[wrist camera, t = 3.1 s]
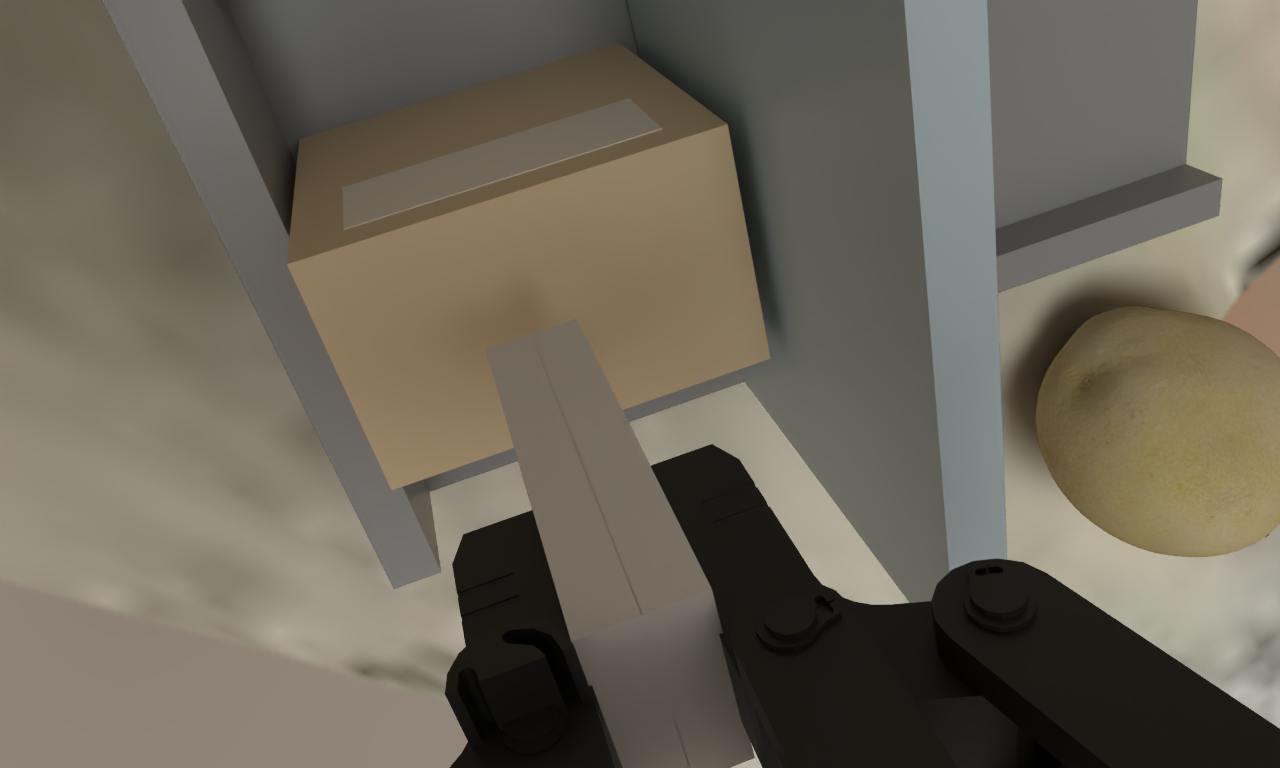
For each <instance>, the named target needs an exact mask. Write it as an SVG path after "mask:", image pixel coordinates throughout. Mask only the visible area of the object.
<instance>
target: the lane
mask: <svg viewBox="0 0 1280 768" xmlns="http://www.w3.org/2000/svg"><path fill="white" fill-rule="evenodd" d="M102 1H103V3H104V5H105V7H106V9H107V11H108V13H109V15H110V17H111V19H112V21H113V23H114V25H115V27H116V29H117V31H118V33H119V35H120V37H121V39H122V41H123V43H124V45H125V47H126V49H127V52H128V54H129V56H130V58H131V60H132V62H133V64H134V66H135V68H136V70H137V72H138V74H139V76H140V78H141V80H142V82H143V84H144V86H145V88H146V90H147V92H148V94H149V96H150V98H151V100H152V102H153V104H154V106H155V108H156V110H157V112H158V114H159V116H160V118H161V120H162V122H163V124H164V126H165V128H166V130H167V132H168V134H169V136H170V138H171V140H172V142H173V144H174V146H175V148H176V150H177V152H178V154H179V156H180V158H181V160H182V162H183V165H184V167H185V169H186V171H187V173H188V175H189V177H190V179H191V181H192V183H193V185H194V187H195V189H196V191H197V193H198V195H199V197H200V199H201V201H202V203H203V205H204V207H205V209H206V211H207V213H208V215H209V217H210V219H211V221H212V223H213V225H214V227H215V229H216V231H217V233H218V235H219V237H220V239H221V241H222V243H223V245H224V247H225V249H226V251H227V253H228V255H229V257H230V259H231V261H232V263H233V265H234V267H235V269H236V271H237V273H238V275H239V278H240V280H241V282H242V284H243V286H244V288H245V290H246V292H247V294H248V296H249V298H250V300H251V302H252V304H253V306H254V308H255V310H256V312H257V314H258V316H259V318H260V320H261V322H262V324H263V326H264V328H265V330H266V332H267V334H268V336H269V338H270V340H271V342H272V344H273V346H274V348H275V350H276V352H277V354H278V356H279V358H280V360H281V362H282V364H283V366H284V368H285V370H286V372H287V374H288V376H289V378H290V380H291V382H292V384H293V386H294V388H295V391H296V393H297V395H298V397H299V399H300V401H301V403H302V405H303V407H304V409H305V411H306V413H307V415H308V417H309V419H310V421H311V423H312V425H313V427H314V429H315V431H316V433H317V435H318V437H319V439H320V441H321V443H322V445H323V447H324V449H325V451H326V453H327V455H328V457H329V459H330V461H331V463H332V465H333V467H334V469H335V471H336V473H337V475H338V477H339V479H340V481H341V483H342V485H343V487H344V489H345V491H346V493H347V495H348V497H349V499H350V501H351V504H352V506H353V508H354V510H355V512H356V514H357V516H358V518H359V520H360V522H361V524H362V526H363V528H364V530H365V532H366V534H367V536H368V538H369V540H370V542H371V544H372V546H373V548H374V550H375V552H376V554H377V556H378V558H379V560H380V562H381V564H382V566H383V568H384V570H385V572H386V574H387V576H388V578H389V580H390V582H391V584H392V586H393V588H394V589H396V588H398V587H401V586H404V585H407V584H409V583H412V582H415V581H418V580H421V579H423V578H426V577H429V576H432V575H434V574H437V573H440V572H441V567H440V561H439V554H438V547H437V540H436V534H435V527H434V520H433V513H432V507H431V500H430V493H429V492H430V491H433V490H436V489H439V488H441V487H444V486H447V485H450V484H453V483H456V482H459V481H461V480H464V479H467V478H470V477H473V476H476V475H479V474H481V473H484V472H487V471H490V470H493V469H496V468H499V467H501V466H504V465H507V464H510V463H513V462H516V461H518V459H517V455H516V452H515V449H514V448H512V449H509V450H507V451H504V452H501V453H498V454H495V455H492V456H489V457H487V458H484V459H481V460H478V461H475V462H472V463H469V464H466V465H464V466H461V467H458V468H455V469H452V470H449V471H446V472H443V473H441V474H438V475H435V476H432V477H429V478H426V479H423V480H420V481H418V482H415V483H412V484H409V485H406V486H403V487H400V488H397V489H395V490H391V488H390V486H389V484H388V482H387V480H386V477H385V475H384V473H383V471H382V469H381V467H380V464H379V462H378V460H377V458H376V456H375V454H374V451H373V449H372V447H371V445H370V443H369V441H368V439H367V436H366V434H365V432H364V430H363V428H362V426H361V423H360V421H359V419H358V417H357V415H356V413H355V410H354V408H353V406H352V404H351V402H350V400H349V398H348V395H347V393H346V391H345V389H344V387H343V385H342V382H341V380H340V378H339V376H338V374H337V372H336V369H335V367H334V365H333V363H332V361H331V359H330V356H329V354H328V352H327V350H326V348H325V346H324V344H323V341H322V339H321V337H320V335H319V333H318V331H317V328H316V326H315V324H314V322H313V320H312V318H311V315H310V313H309V311H308V309H307V307H306V305H305V303H304V300H303V298H302V296H301V294H300V292H299V290H298V287H297V285H296V283H295V281H294V279H293V277H292V274H291V272H290V270H289V268H288V266H287V258H288V248H289V238H290V228H291V218H292V208H293V198H294V188H295V178H296V168H297V158H298V148H299V139H301V138H304V137H308V136H311V135H314V134H317V133H321V132H324V131H327V130H331V129H334V128H337V127H340V126H344V125H347V124H350V123H353V122H357V121H360V120H363V119H367V118H370V117H373V116H376V115H380V114H383V113H386V112H390V111H393V110H396V109H399V108H403V107H406V106H409V105H413V104H416V103H419V102H422V101H426V100H429V99H432V98H436V97H439V96H442V95H445V94H449V93H452V92H455V91H459V90H462V89H465V88H468V87H472V86H475V85H478V84H482V83H485V82H488V81H491V80H495V79H498V78H501V77H504V76H508V75H511V74H514V73H518V72H521V71H524V70H527V69H531V68H534V67H537V66H541V65H544V64H547V63H550V62H554V61H557V60H560V59H564V58H567V57H570V56H573V55H577V54H580V53H583V52H587V51H590V50H593V49H596V48H600V47H603V46H606V45H610V44H613V43H616V42H619V43H620V44H622V45H623V46H624V47H626V48H627V49H628V50H630V51H631V52H632V53H634V54H635V55H636V56H638V57H639V58H640V56H639V52H638V47H637V43H636V39H635V34H634V30H633V25H632V21H631V16H630V12H629V7H628V3H627V0H102ZM1197 4H1198V0H987V14H988V41H989V69H990V97H991V124H992V152H993V179H994V207H995V234H996V262H997V289H998V293H999V292H1002V291H1005V290H1008V289H1011V288H1013V287H1016V286H1019V285H1022V284H1025V283H1028V282H1031V281H1033V280H1036V279H1039V278H1042V277H1045V276H1048V275H1051V274H1053V273H1056V272H1059V271H1062V270H1065V269H1068V268H1071V267H1073V266H1076V265H1079V264H1082V263H1085V262H1088V261H1091V260H1093V259H1096V258H1099V257H1102V256H1105V255H1108V254H1111V253H1113V252H1116V251H1119V250H1122V249H1125V248H1128V247H1131V246H1133V245H1136V244H1139V243H1142V242H1145V241H1148V240H1151V239H1153V238H1156V237H1159V236H1162V235H1165V234H1168V233H1171V232H1174V231H1176V230H1179V229H1182V228H1185V227H1188V226H1191V225H1194V224H1196V223H1199V222H1202V221H1205V220H1208V219H1211V218H1214V217H1216V216H1219V210H1220V199H1221V189H1222V178H1219V177H1217V176H1214V175H1212V174H1209V173H1207V172H1204V171H1202V170H1199V169H1196V168H1194V167H1191V166H1189V165H1186V154H1187V140H1188V127H1189V113H1190V99H1191V86H1192V72H1193V58H1194V45H1195V31H1196V17H1197ZM742 382H745V381H744V380H743V378H742V377H741V376H740V374H739V373H738V372H737V370H736V371H734V372H731V373H728V374H725V375H722V376H719V377H716V378H713V379H711V380H708V381H705V382H702V383H699V384H696V385H693V386H691V387H688V388H685V389H682V390H679V391H676V392H673V393H670V394H668V395H665V396H662V397H659V398H656V399H653V400H650V401H647V402H645V403H642V404H639V405H636V406H633V407H630V408H627V409H624V410H623V412H624V414H625V416H626V418H627V420H628V422H630V421H633V420H636V419H639V418H642V417H644V416H647V415H650V414H653V413H656V412H659V411H662V410H664V409H667V408H670V407H673V406H676V405H679V404H682V403H684V402H687V401H690V400H693V399H696V398H699V397H702V396H704V395H707V394H710V393H713V392H716V391H719V390H722V389H725V388H727V387H730V386H733V385H736V384H739V383H742Z"/></svg>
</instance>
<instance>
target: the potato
mask: <svg viewBox="0 0 1280 768" xmlns="http://www.w3.org/2000/svg"><path fill="white" fill-rule="evenodd" d="M1036 430H1037V436H1038V441H1039V445H1040V449H1041V452H1042V455H1043V457H1044V460H1045V462H1046V464H1047V467H1048V469H1049V471H1050V473H1051V475H1052V477H1053V479H1054V480H1055V482H1056V484H1057V485H1058V487H1059V488H1060V490H1061V491H1062V492H1063V494H1064V495H1065V496H1066V497H1067V499H1068V500H1069V501H1070V502H1071V503H1072V504H1073V506H1074V507H1075V508H1076V509H1077V510H1078V511H1079V512H1080V513H1081V514H1083V515H1084V516H1085V517H1086V518H1087V519H1089V520H1090V521H1091V522H1093V523H1094V524H1095V525H1097V526H1098V527H1099V528H1101V529H1102V530H1104V531H1105V532H1107V533H1109V534H1110V535H1112V536H1114V537H1116V538H1118V539H1120V540H1121V541H1123V542H1126V543H1128V544H1130V545H1133V546H1135V547H1138V548H1141V549H1144V550H1147V551H1151V552H1154V553H1159V554H1165V555H1172V556H1183V557H1208V556H1217V555H1223V554H1228V553H1231V552H1235V551H1238V550H1240V549H1243V548H1245V547H1247V546H1250V545H1252V544H1254V543H1256V542H1258V541H1259V540H1261V539H1263V538H1264V537H1265V536H1266V537H1267V536H1268V535H1269V533H1270V532H1271V531H1272V530H1274V529H1275V528H1276V527H1277V526H1278V525H1279V523H1280V358H1279V357H1278V356H1277V355H1276V354H1275V353H1274V352H1273V351H1272V350H1271V349H1270V348H1268V347H1267V346H1266V345H1265V344H1263V343H1262V342H1261V341H1259V340H1258V339H1257V338H1255V337H1254V336H1252V335H1251V334H1249V333H1247V332H1246V331H1244V330H1242V329H1240V328H1238V327H1236V326H1234V325H1232V324H1229V323H1227V322H1224V321H1221V320H1218V319H1214V318H1211V317H1207V316H1202V315H1197V314H1192V313H1186V312H1180V311H1172V310H1166V309H1154V308H1149V307H1142V306H1127V307H1121V308H1117V309H1113V310H1109V311H1106V312H1103V313H1101V314H1098V315H1096V316H1093V317H1091V318H1090V319H1088V320H1086V321H1085V322H1084V323H1083V324H1082V325H1081V326H1080V327H1079V328H1078V329H1077V330H1076V332H1075V333H1074V334H1073V335H1072V336H1071V338H1070V339H1069V340H1068V341H1067V343H1066V344H1065V345H1064V346H1063V348H1062V349H1061V350H1060V352H1059V353H1058V354H1057V356H1056V357H1055V358H1054V360H1053V361H1052V363H1051V365H1050V366H1049V368H1048V370H1047V372H1046V374H1045V376H1044V379H1043V382H1042V384H1041V387H1040V390H1039V395H1038V401H1037V408H1036Z"/></svg>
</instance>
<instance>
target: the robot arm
mask: <svg viewBox="0 0 1280 768" xmlns="http://www.w3.org/2000/svg"><path fill="white" fill-rule="evenodd" d="M485 350H486V354H487V357H488V360H489V364H490V367H491V371H492V374H493V377H494V381H495V384H496V388H497V391H498V394H499V398H500V401H501V404H502V408H503V411H504V415H505V418H506V421H507V425H508V428H509V432H510V435H511V438H512V442H513V445H514V449H515V452H516V455H517V459H518V462H519V466H520V469H521V472H522V476H523V479H524V483H525V486H526V489H527V493H528V496H529V500H530V503H531V506H532V510H531V511H529V512H526V513H523V514H520V515H517V516H514V517H512V518H509V519H506V520H503V521H500V522H497V523H495V524H492V525H489V526H486V527H483V528H480V529H478V530H475V531H472V532H469V533H466V534H463V537H462V540H461V543H460V545H459V548H458V551H457V553H456V556H455V559H454V561H453V564H452V565H453V571H454V577H455V583H456V589H457V594H458V597H459V598H458V602H459V608H460V614H461V617H462V626H463V632H464V638H465V644H466V647H465V648H464V649H463V650H462V651H461V652H460V653H459V654H458V656H457V658H456V659H455V661H454V663H453V665H452V666H451V668H450V670H449V672H448V673H447V682H446V690H445V695H446V697H447V699H448V701H449V703H450V705H451V707H452V709H453V711H454V713H455V715H456V717H457V720H458V722H459V723H460V726H461V727H462V730H463V732H464V734H465V736H466V738H467V740H468V743H467V745H466V747H465V748H464V750H463V752H462V754H461V755H460V756H459V757H458V758H457V760H456V761H455V762H454V763H453V764H452V765H451V767H450V768H730V767H732V766H735V765H738V764H740V763H743V762H745V761H748V760H750V759H753V758H755V757H754V753H753V749H752V746H753V748H754V750H755V752H756V754H757V756H758V759H759V761H760V763H761V765H762V767H763V768H1280V729H1279V728H1278V727H1276V726H1275V725H1273V724H1272V723H1270V722H1269V721H1267V720H1266V719H1264V718H1263V717H1261V716H1260V715H1258V714H1257V713H1255V712H1254V711H1252V710H1251V709H1249V708H1248V707H1246V706H1245V705H1243V704H1242V703H1240V702H1239V701H1237V700H1236V699H1234V698H1233V697H1231V696H1230V695H1228V694H1227V693H1225V692H1224V691H1222V690H1221V689H1219V688H1218V687H1216V686H1215V685H1213V684H1212V683H1210V682H1209V681H1207V680H1206V679H1204V678H1203V677H1201V676H1200V675H1198V674H1197V673H1195V672H1194V671H1192V670H1191V669H1189V668H1188V667H1186V666H1185V665H1183V664H1182V663H1180V662H1179V661H1177V660H1176V659H1174V658H1173V657H1171V656H1170V655H1168V654H1167V653H1165V652H1164V651H1162V650H1161V649H1159V648H1158V647H1156V646H1155V645H1153V644H1152V643H1150V642H1149V641H1147V640H1146V639H1144V638H1143V637H1141V636H1140V635H1138V634H1137V633H1135V632H1134V631H1132V630H1131V629H1129V628H1128V627H1126V626H1125V625H1123V624H1122V623H1120V622H1119V621H1117V620H1116V619H1114V618H1113V617H1111V616H1110V615H1108V614H1107V613H1105V612H1104V611H1102V610H1101V609H1099V608H1098V607H1096V606H1095V605H1093V604H1092V603H1090V602H1089V601H1087V600H1086V599H1084V598H1083V597H1081V596H1080V595H1079V594H1077V593H1076V592H1074V591H1073V590H1071V589H1070V588H1068V587H1067V586H1065V585H1064V584H1062V583H1061V582H1059V581H1058V580H1056V579H1055V578H1053V577H1052V576H1050V575H1049V574H1047V573H1045V572H1043V571H1041V570H1039V569H1037V568H1034V567H1032V566H1030V565H1028V564H1026V563H1024V562H1018V561H1011V560H1005V559H999V558H996V559H987V560H977V561H971V562H969V563H967V564H964V565H962V566H959V567H957V568H955V569H952V570H951V571H950V572H949V573H948V574H947V575H946V576H945V577H944V578H943V579H941V580H940V581H939V582H938V583H937V585H936V588H935V591H934V594H933V597H932V600H931V601H925V602H915V603H904V604H894V605H870V604H864V603H859V602H853V601H851V600H848V599H845V598H843V597H842V596H841V595H839V594H838V593H837V592H836V591H835V590H833V589H831V588H828V587H826V586H823V585H822V584H821V583H820V582H819V581H818V579H817V578H816V577H815V576H814V575H813V573H812V572H811V570H810V569H809V567H808V565H807V564H806V562H805V561H804V559H803V558H802V556H801V555H800V553H799V551H798V550H797V548H796V547H795V545H794V544H793V542H792V541H791V539H790V538H789V536H788V534H787V533H786V531H785V530H784V528H783V527H782V525H781V524H780V522H779V520H778V519H777V517H776V516H775V514H774V513H773V511H772V510H771V508H770V507H768V505H767V502H766V500H765V499H764V497H763V496H762V494H761V493H760V491H759V489H758V488H756V487H755V484H754V482H753V480H752V479H751V477H750V475H749V474H748V472H747V471H746V469H745V468H744V466H743V465H742V463H741V462H740V460H739V459H737V458H736V457H734V456H732V455H730V454H728V453H727V452H725V451H723V450H721V449H720V448H718V447H716V446H714V445H712V444H711V445H708V446H705V447H702V448H700V449H697V450H694V451H691V452H688V453H685V454H683V455H680V456H677V457H674V458H671V459H668V460H666V461H663V462H660V463H657V464H654V465H651V466H650V464H649V462H648V460H647V458H646V456H645V454H644V452H643V450H642V448H641V446H640V444H639V442H638V440H637V438H636V436H635V434H634V432H633V430H632V428H631V426H630V424H629V422H628V420H627V418H626V416H625V414H624V412H623V410H622V408H621V406H620V404H619V402H618V400H617V398H616V396H615V394H614V392H613V390H612V388H611V386H610V384H609V382H608V380H607V378H606V376H605V374H604V372H603V370H602V368H601V366H600V364H599V362H598V360H597V358H596V356H595V354H594V352H593V350H592V348H591V346H590V344H589V342H588V340H587V338H586V336H585V334H584V332H583V330H582V328H581V326H580V324H579V322H578V320H577V319H574V320H571V321H568V322H565V323H562V324H559V325H556V326H553V327H550V328H547V329H544V330H541V331H538V332H535V333H532V334H529V335H526V336H523V337H520V338H517V339H514V340H511V341H508V342H505V343H502V344H499V345H496V346H493V347H490V348H487V349H485ZM751 743H752V745H751Z"/></svg>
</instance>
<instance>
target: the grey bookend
mask: <svg viewBox="0 0 1280 768" xmlns="http://www.w3.org/2000/svg"><path fill="white" fill-rule="evenodd" d="M627 3H628V7H629V12H630V16H631V21H632V25H633V30H634V34H635V39H636V43H637V47H638V52H639V56H640V59H642V60H643V61H644V62H646V63H647V64H648V65H650V66H651V67H652V68H654V69H655V70H656V71H658V72H659V73H660V74H662V75H663V76H664V77H666V78H667V79H668V80H670V81H671V82H672V83H674V84H675V85H676V86H678V87H679V88H680V89H682V90H683V91H684V92H686V93H687V94H688V95H690V96H691V97H692V98H694V99H695V100H696V101H698V102H699V103H700V104H702V105H703V106H704V107H706V108H707V109H708V110H709V111H711V112H712V113H713V114H715V115H716V116H717V117H719V118H720V119H721V120H723V121H724V122H725V123H727V124H728V129H729V134H730V140H731V145H732V151H733V156H734V162H735V167H736V173H737V178H738V184H739V189H740V195H741V200H742V205H743V211H744V216H745V222H746V227H747V233H748V238H749V244H750V249H751V255H752V260H753V266H754V271H755V277H756V282H757V288H758V293H759V299H760V304H761V310H762V315H763V320H764V326H765V331H766V337H767V342H768V348H769V353H770V359H768V360H765V361H762V362H759V363H757V364H754V365H751V366H748V367H745V368H742V369H739V370H737V372H738V373H739V374H740V376H741V377H742V378H743V380H744V381H745V382H746V384H747V385H748V386H749V388H750V389H751V390H752V392H753V393H754V394H755V396H756V397H757V398H758V400H759V401H760V403H761V404H762V405H763V407H764V408H765V409H766V411H767V412H768V413H769V415H770V416H771V417H772V419H773V420H774V421H775V423H776V424H777V425H778V427H779V428H780V429H781V431H782V432H783V433H784V435H785V436H786V437H787V439H788V440H789V441H790V443H791V444H792V445H793V447H794V448H795V449H796V451H797V452H798V453H799V455H800V456H801V457H802V459H803V460H804V462H805V463H806V464H807V466H808V467H809V468H810V470H811V471H812V472H813V474H814V475H815V476H816V478H817V479H818V480H819V482H820V483H821V484H822V486H823V487H824V488H825V490H826V491H827V492H828V494H829V495H830V496H831V498H832V499H833V500H834V502H835V503H836V504H837V506H838V507H839V508H840V510H841V511H842V512H843V514H844V515H845V517H846V518H847V519H848V521H849V522H850V523H851V525H852V526H853V527H854V529H855V530H856V531H857V533H858V534H859V535H860V537H861V538H862V539H863V541H864V542H865V543H866V545H867V546H868V547H869V549H870V550H871V551H872V553H873V554H874V555H875V557H876V558H877V559H878V561H879V562H880V563H881V565H882V566H883V567H884V569H885V570H886V571H887V573H888V574H889V576H890V577H891V578H892V580H893V581H894V582H895V584H896V585H897V586H898V588H899V589H900V590H901V592H902V593H903V594H904V596H905V597H906V598H907V600H908V601H909V602H910V603H915V602H925V601H931V600H932V597H933V594H934V591H935V588H936V585H937V583H938V582H939V581H940V580H941V579H943V578H944V577H945V576H946V575H947V574H948V573H949V572H950V571H951V570H952V569H955V568H957V567H959V566H962V565H964V564H967V563H969V562H971V561H977V560H987V559H996V558H999V559H1005V560H1007V537H1006V510H1005V482H1004V455H1003V427H1002V400H1001V372H1000V344H999V317H998V289H997V262H996V234H995V207H994V179H993V152H992V124H991V97H990V69H989V41H988V14H987V0H627Z"/></svg>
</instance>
